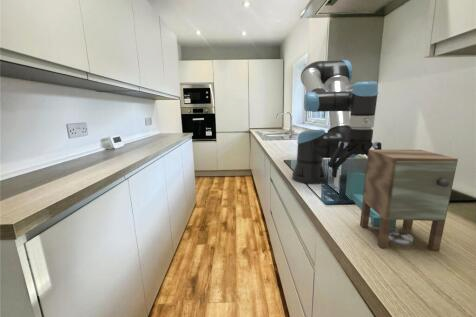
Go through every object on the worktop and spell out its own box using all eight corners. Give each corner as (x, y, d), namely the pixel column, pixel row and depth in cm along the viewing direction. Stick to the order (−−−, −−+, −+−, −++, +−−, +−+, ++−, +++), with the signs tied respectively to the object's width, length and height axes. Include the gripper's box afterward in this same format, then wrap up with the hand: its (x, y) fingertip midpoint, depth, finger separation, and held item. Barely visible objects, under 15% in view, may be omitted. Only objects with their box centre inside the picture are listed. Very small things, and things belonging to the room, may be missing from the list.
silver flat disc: (379, 233, 60) (379, 228, 60) (402, 233, 59) (403, 228, 59) (392, 246, 54) (393, 240, 54) (418, 247, 54) (419, 241, 53)
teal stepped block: (343, 195, 85) (345, 170, 83) (359, 196, 85) (362, 170, 83) (373, 225, 63) (377, 192, 61) (395, 226, 63) (400, 193, 60)
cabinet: (359, 224, 64) (368, 149, 59) (408, 226, 62) (420, 149, 58) (384, 252, 51) (398, 160, 46) (445, 255, 50) (465, 160, 45)
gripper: (327, 129, 75) (323, 188, 79) (405, 129, 73) (396, 190, 77) (321, 127, 82) (317, 182, 87) (392, 127, 80) (384, 183, 84)
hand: (354, 186), depth 82 cm, fingers open, 13 cm apart
